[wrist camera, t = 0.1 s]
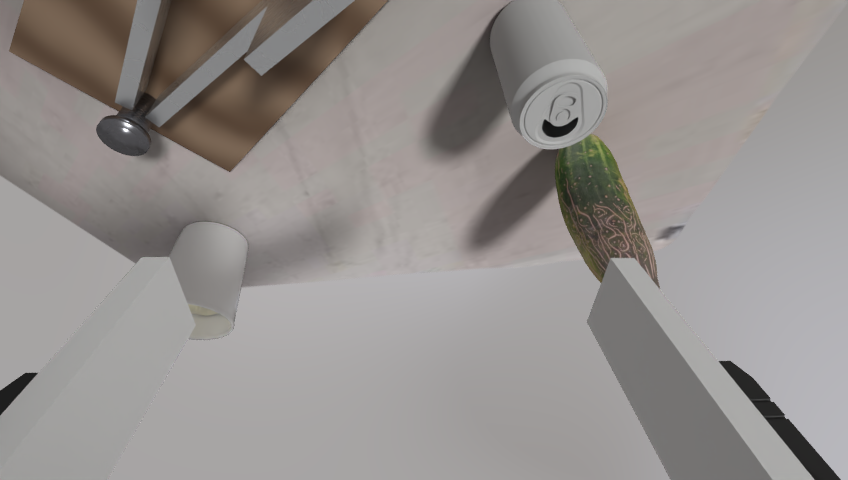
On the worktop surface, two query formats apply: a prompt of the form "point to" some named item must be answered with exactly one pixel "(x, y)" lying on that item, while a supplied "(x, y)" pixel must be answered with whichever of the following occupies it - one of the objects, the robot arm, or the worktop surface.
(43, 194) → the worktop surface
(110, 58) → the walnut board
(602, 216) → the vegetable
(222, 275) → the candle holder
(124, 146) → the tongs hinge post
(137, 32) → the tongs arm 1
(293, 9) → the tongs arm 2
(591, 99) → the beverage can
